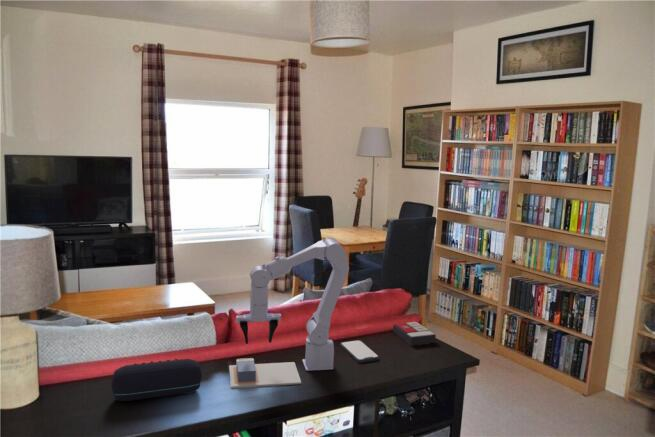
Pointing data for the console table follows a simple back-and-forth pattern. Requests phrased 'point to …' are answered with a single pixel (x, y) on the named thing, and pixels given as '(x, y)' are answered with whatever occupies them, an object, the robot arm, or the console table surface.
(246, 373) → the card deck
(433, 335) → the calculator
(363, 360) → the phone case
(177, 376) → the portable speaker
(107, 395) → the console table surface
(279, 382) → the mat
